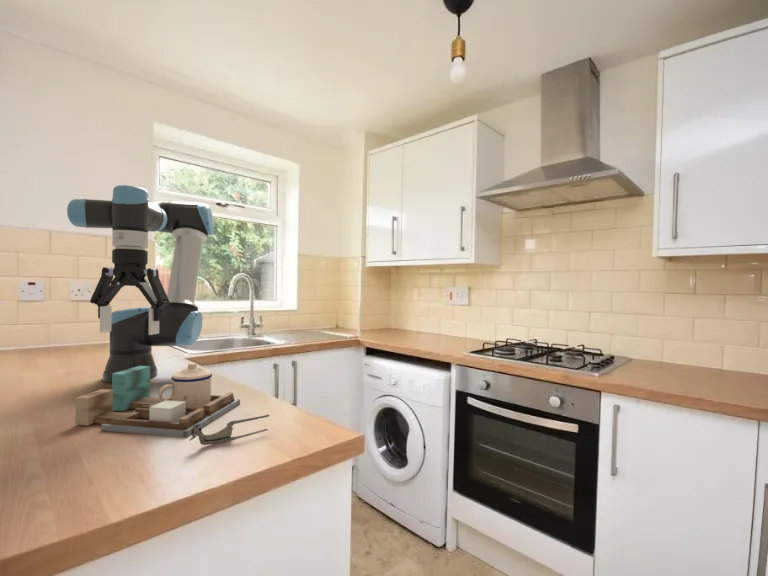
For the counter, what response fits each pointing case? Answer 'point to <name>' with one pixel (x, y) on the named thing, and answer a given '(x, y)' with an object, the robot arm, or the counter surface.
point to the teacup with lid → (190, 387)
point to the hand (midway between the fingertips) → (129, 333)
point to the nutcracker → (221, 432)
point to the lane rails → (169, 431)
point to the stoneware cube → (167, 411)
